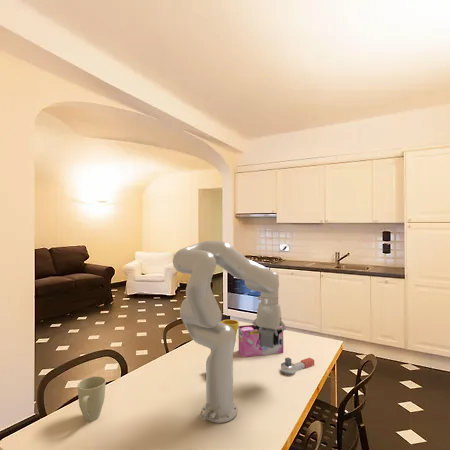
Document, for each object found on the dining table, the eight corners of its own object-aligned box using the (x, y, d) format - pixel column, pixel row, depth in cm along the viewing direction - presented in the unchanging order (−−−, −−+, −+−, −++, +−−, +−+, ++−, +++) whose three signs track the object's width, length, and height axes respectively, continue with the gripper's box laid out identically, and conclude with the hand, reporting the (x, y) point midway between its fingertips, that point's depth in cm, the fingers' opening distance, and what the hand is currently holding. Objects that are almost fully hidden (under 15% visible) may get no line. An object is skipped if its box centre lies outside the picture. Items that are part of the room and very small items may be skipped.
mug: (70, 418, 106) (70, 383, 106) (99, 406, 113) (99, 373, 113) (82, 433, 98) (82, 396, 98) (112, 419, 105) (112, 384, 105)
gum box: (279, 346, 169) (279, 322, 169) (286, 352, 161) (286, 326, 161) (238, 351, 163) (238, 325, 163) (242, 357, 155) (242, 330, 155)
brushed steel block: (272, 348, 128) (273, 331, 128) (260, 345, 131) (260, 329, 131) (277, 343, 133) (277, 327, 133) (265, 341, 136) (265, 325, 136)
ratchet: (287, 376, 135) (287, 363, 135) (278, 370, 141) (278, 357, 141) (317, 366, 145) (317, 353, 145) (306, 361, 151) (306, 348, 151)
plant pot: (230, 334, 188) (230, 318, 188) (242, 339, 180) (242, 322, 180) (217, 338, 181) (217, 321, 181) (228, 343, 173) (228, 326, 173)
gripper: (247, 299, 133) (247, 341, 133) (286, 304, 125) (285, 349, 125) (254, 296, 140) (253, 336, 139) (291, 301, 132) (290, 343, 131)
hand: (268, 342), depth 132 cm, fingers closed on brushed steel block, 5 cm apart
